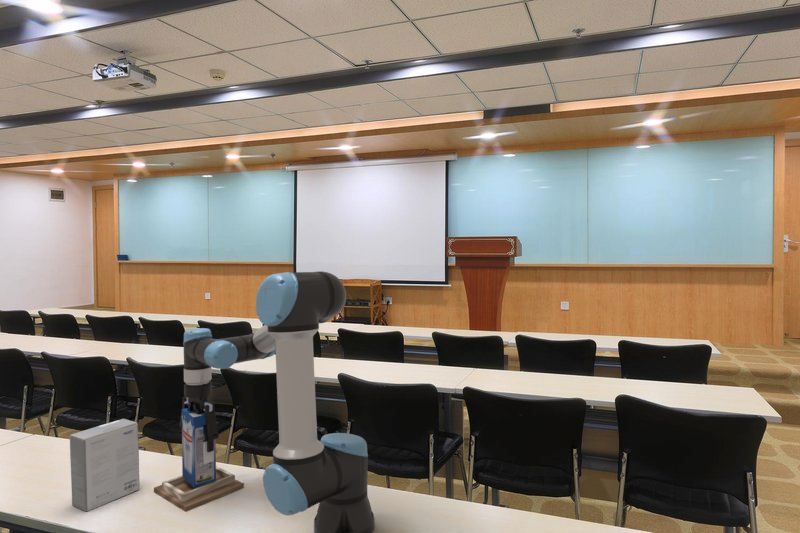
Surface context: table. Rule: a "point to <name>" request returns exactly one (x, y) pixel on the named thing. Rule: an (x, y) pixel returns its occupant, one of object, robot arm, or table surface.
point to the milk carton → (195, 450)
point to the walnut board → (197, 490)
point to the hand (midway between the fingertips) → (198, 457)
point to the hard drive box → (104, 463)
